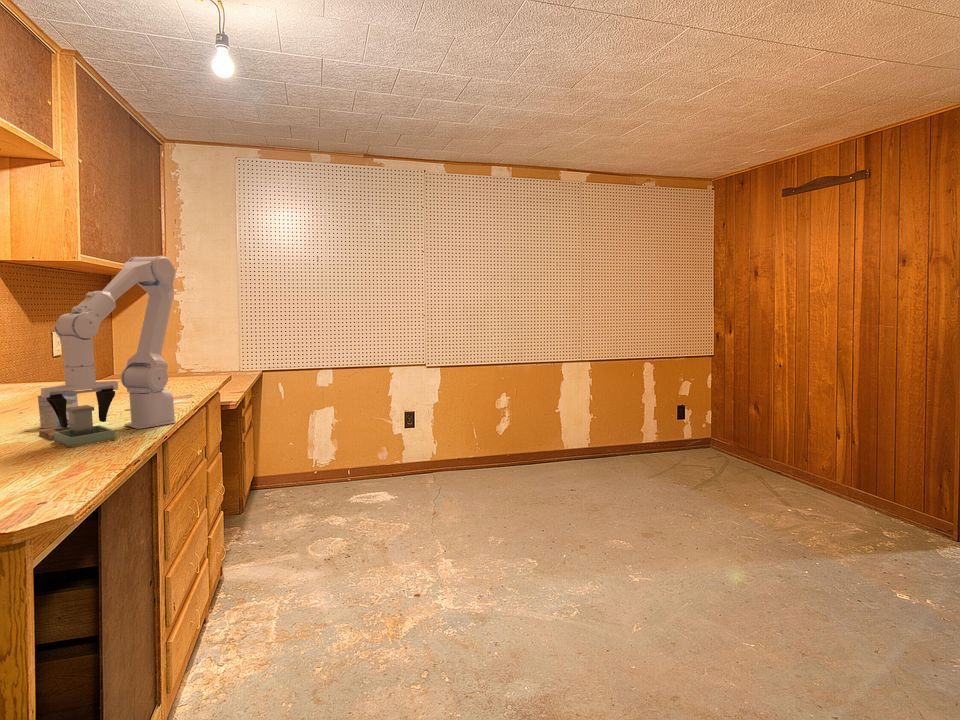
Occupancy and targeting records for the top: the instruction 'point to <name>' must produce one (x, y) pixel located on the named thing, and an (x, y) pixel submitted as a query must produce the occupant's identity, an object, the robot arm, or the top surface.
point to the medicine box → (48, 414)
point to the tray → (84, 437)
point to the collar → (51, 432)
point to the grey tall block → (80, 420)
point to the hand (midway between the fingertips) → (83, 424)
